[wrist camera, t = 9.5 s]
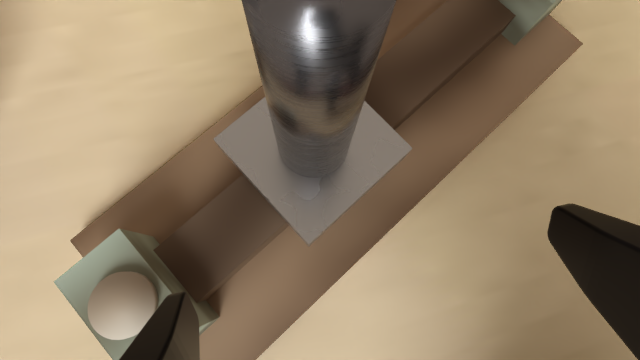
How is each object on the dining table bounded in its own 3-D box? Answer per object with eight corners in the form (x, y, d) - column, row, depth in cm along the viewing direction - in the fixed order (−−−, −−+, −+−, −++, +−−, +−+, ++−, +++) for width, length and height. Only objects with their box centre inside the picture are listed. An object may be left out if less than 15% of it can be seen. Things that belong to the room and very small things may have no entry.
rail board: (571, 53, 23) (640, -5, 18) (208, 402, 18) (172, 449, 13) (446, -55, 24) (480, -134, 20) (81, 242, 20) (9, 232, 15)
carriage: (404, 157, 18) (555, -25, 7) (308, 246, 17) (308, 197, 6) (316, 69, 19) (327, -215, 8) (220, 149, 18) (78, -52, 7)
